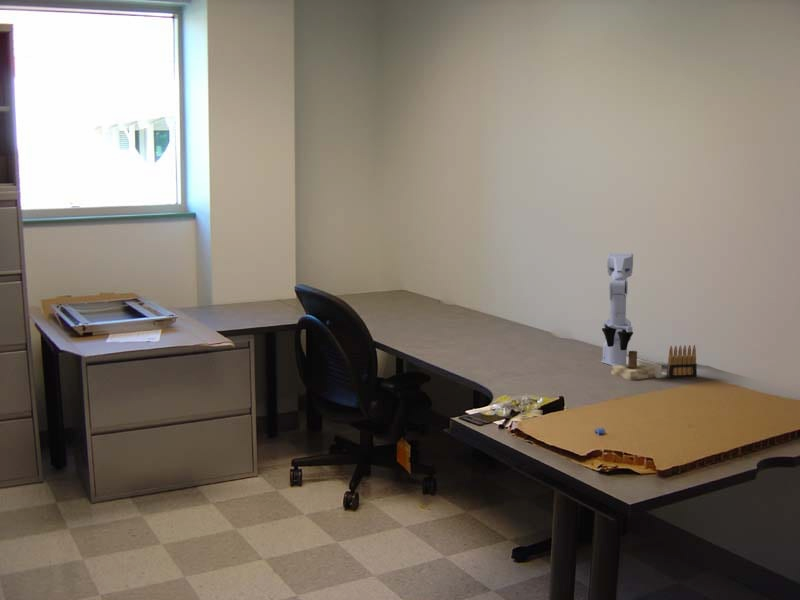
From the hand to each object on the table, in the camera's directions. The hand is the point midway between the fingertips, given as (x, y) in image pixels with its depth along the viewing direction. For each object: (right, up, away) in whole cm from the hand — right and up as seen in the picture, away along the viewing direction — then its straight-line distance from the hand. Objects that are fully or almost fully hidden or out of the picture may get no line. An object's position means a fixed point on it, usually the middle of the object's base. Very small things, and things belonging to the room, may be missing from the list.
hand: (616, 348), depth 320 cm
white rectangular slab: (+12, -9, +2) cm, 15 cm away
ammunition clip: (+22, -11, -7) cm, 25 cm away
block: (+5, -10, -3) cm, 12 cm away
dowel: (+5, -10, -3) cm, 11 cm away
